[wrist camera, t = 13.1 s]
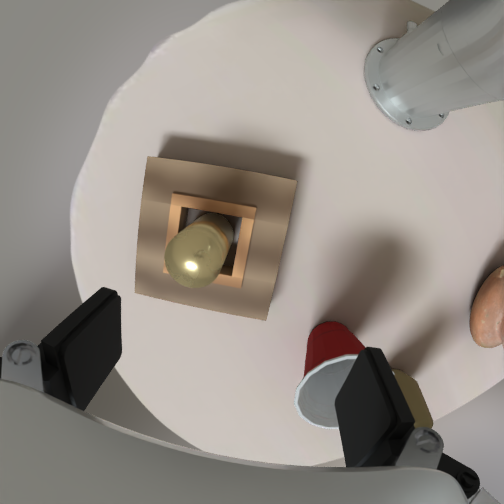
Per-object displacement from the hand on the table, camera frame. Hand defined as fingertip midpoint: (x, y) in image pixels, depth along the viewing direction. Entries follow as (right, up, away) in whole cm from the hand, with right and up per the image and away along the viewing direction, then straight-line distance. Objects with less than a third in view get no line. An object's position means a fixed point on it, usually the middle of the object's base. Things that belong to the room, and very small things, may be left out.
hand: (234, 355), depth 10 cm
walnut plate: (-4, +6, +23) cm, 24 cm away
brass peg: (-4, +6, +23) cm, 25 cm away
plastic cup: (+11, -8, +27) cm, 30 cm away
